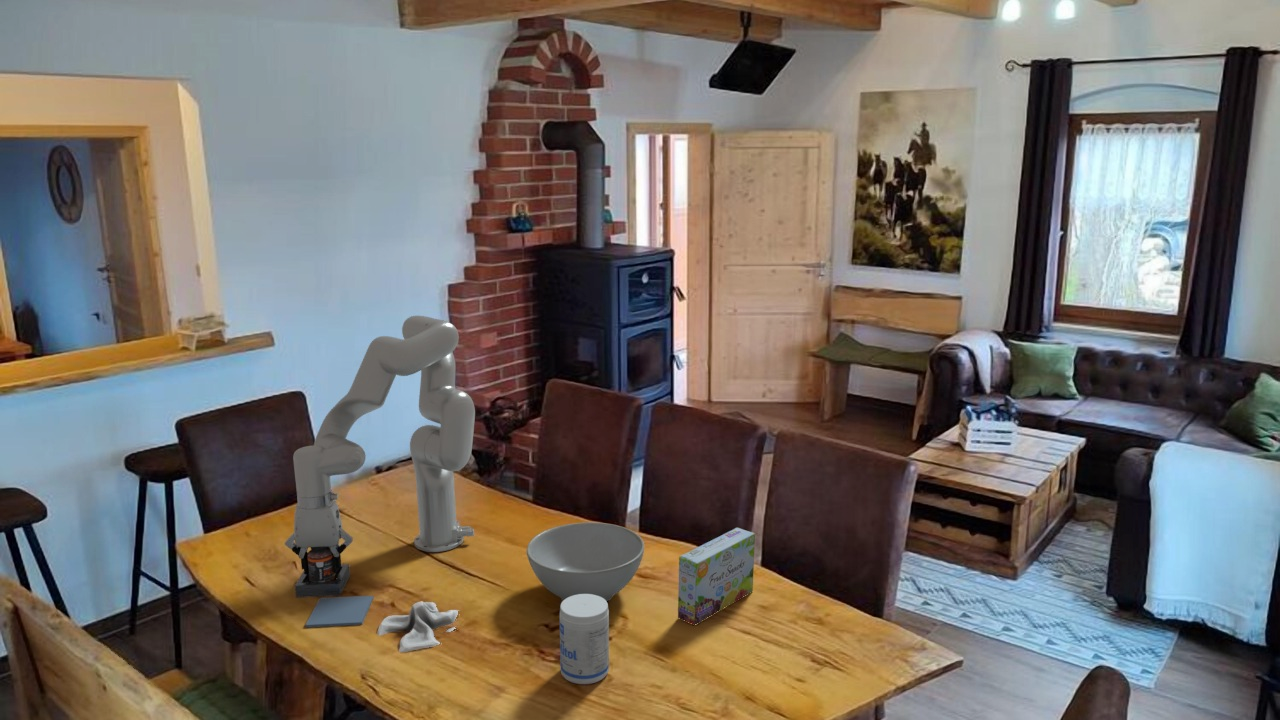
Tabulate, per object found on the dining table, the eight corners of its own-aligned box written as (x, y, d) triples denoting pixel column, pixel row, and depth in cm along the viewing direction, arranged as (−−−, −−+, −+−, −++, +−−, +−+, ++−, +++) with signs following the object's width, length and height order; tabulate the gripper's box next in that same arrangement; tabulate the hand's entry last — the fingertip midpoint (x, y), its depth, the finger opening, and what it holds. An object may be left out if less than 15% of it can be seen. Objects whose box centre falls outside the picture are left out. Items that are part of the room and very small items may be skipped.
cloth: (415, 663, 183) (413, 636, 182) (357, 635, 194) (355, 609, 193) (494, 617, 201) (493, 592, 200) (437, 594, 212) (435, 570, 210)
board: (373, 597, 209) (373, 595, 209) (362, 624, 197) (361, 622, 197) (320, 600, 208) (319, 598, 208) (305, 627, 196) (305, 624, 196)
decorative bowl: (504, 596, 209) (502, 547, 206) (588, 557, 228) (587, 512, 225) (585, 637, 191) (583, 585, 188) (668, 592, 210) (668, 543, 208)
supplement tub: (550, 674, 178) (548, 606, 175) (584, 653, 185) (582, 587, 182) (586, 692, 172) (584, 622, 169) (619, 670, 179) (618, 602, 176)
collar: (350, 575, 220) (349, 564, 219) (340, 595, 210) (339, 583, 210) (307, 577, 219) (306, 566, 219) (295, 597, 210) (294, 585, 209)
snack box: (696, 628, 195) (697, 563, 191) (676, 619, 198) (676, 555, 195) (754, 592, 210) (756, 531, 206) (735, 584, 213) (736, 525, 210)
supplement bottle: (328, 593, 211) (323, 548, 209) (305, 591, 213) (300, 546, 210) (341, 581, 217) (337, 537, 214) (319, 579, 218) (314, 535, 216)
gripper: (356, 491, 214) (362, 562, 218) (281, 494, 213) (289, 565, 217) (349, 504, 207) (355, 576, 211) (271, 507, 205) (279, 580, 210)
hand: (322, 570), depth 214 cm, fingers closed on supplement bottle, 6 cm apart
